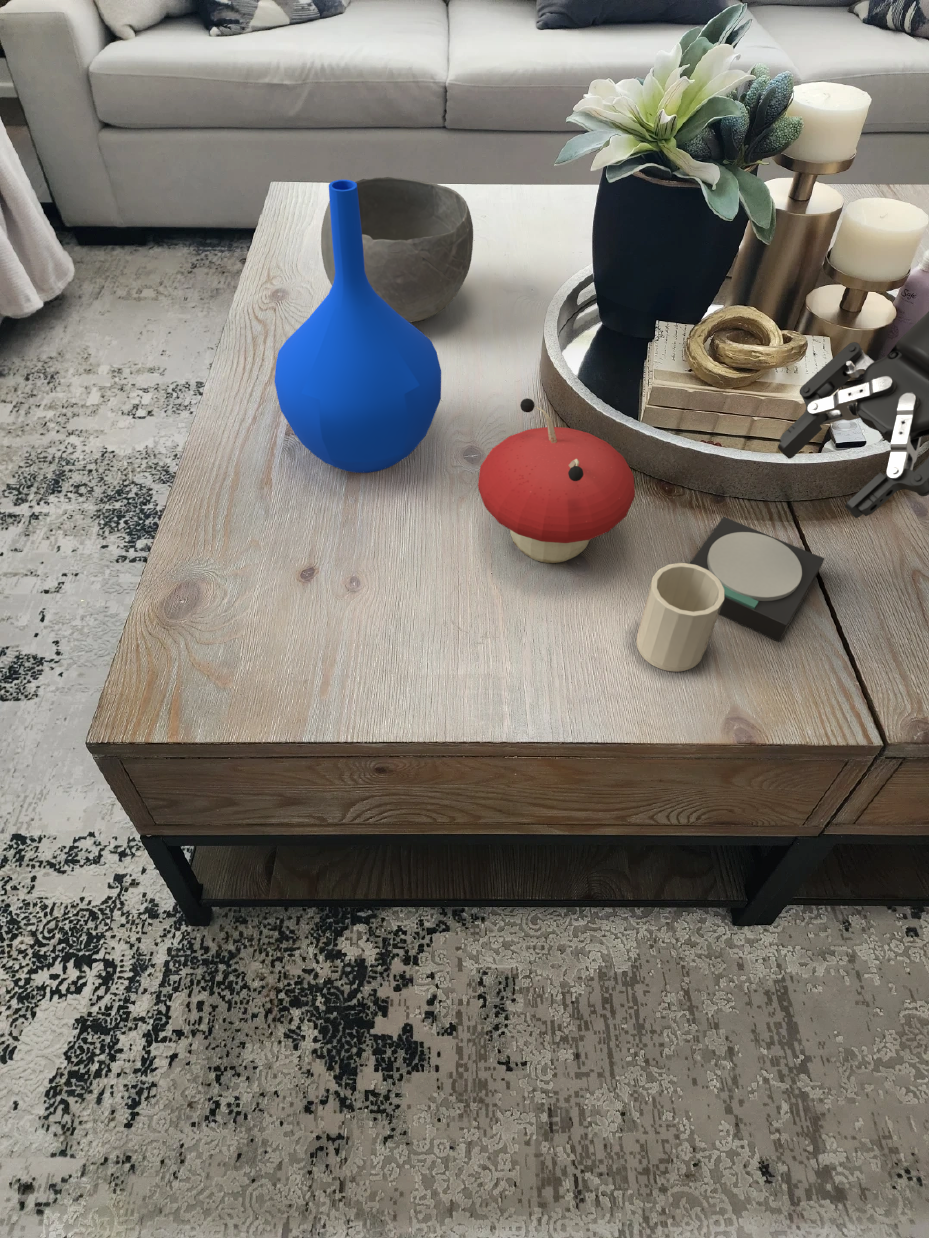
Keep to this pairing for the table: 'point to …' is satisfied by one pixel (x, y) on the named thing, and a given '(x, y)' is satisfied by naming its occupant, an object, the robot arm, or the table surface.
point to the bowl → (410, 243)
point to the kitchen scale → (758, 576)
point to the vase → (357, 364)
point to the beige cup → (679, 616)
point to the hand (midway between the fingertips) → (815, 482)
